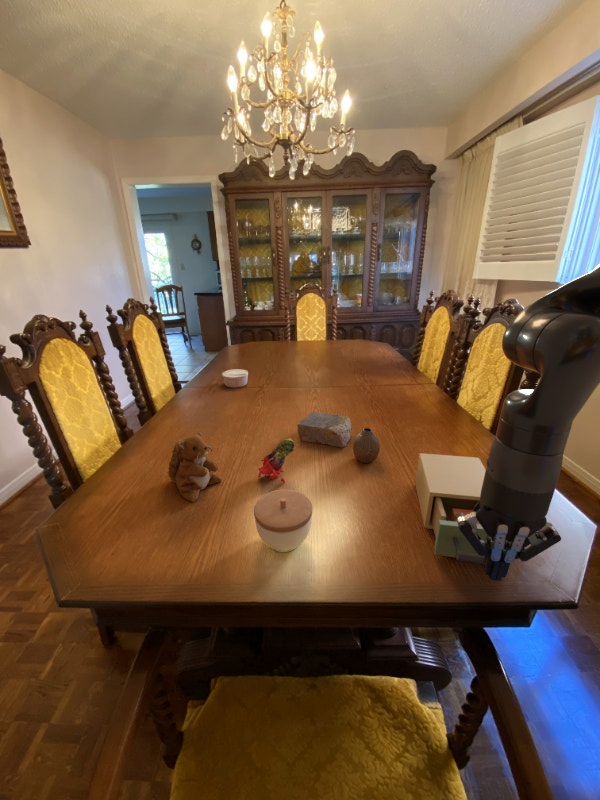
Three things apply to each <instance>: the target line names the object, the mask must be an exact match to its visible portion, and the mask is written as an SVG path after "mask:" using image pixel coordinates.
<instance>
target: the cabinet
mask: <svg viewBox="0 0 600 800" xmlns="http://www.w3.org/2000/svg"><path fill="white" fill-rule="evenodd" d="M485 471H486V467H485V466H484V464H483V462H482V461H481V458H480V457H472V456H463V455H462V456H460V455H449V454H435V453H423V452H422V453H421V452H419V454H418V461H417V469H416V478H415V490H416V494H417V498H418V499H417V500H418V503H419V509H420V515H421V519H422V523H423V528H424V529H428V530H429V529H430V530H433V525H432V521H431V517H430V516H431V510H432V504H433V497H434V496H439V497H449V498H459V499H469V500H480V494H481V489H482V485H483V480H484V476H485Z"/></svg>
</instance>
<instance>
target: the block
mask: <svg viewBox="0 0 600 800" xmlns="http://www.w3.org/2000/svg"><path fill="white" fill-rule="evenodd" d="M471 512H474V511H473V510H464V509H454V508H453V509H452V514H451V519H450V521H454V522H457V520H456V517H455V515H456V514H457V513H463V514H464V515H467V514H469V513H471ZM476 524H480V523H479V521H478V522H477V523H476Z"/></svg>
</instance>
